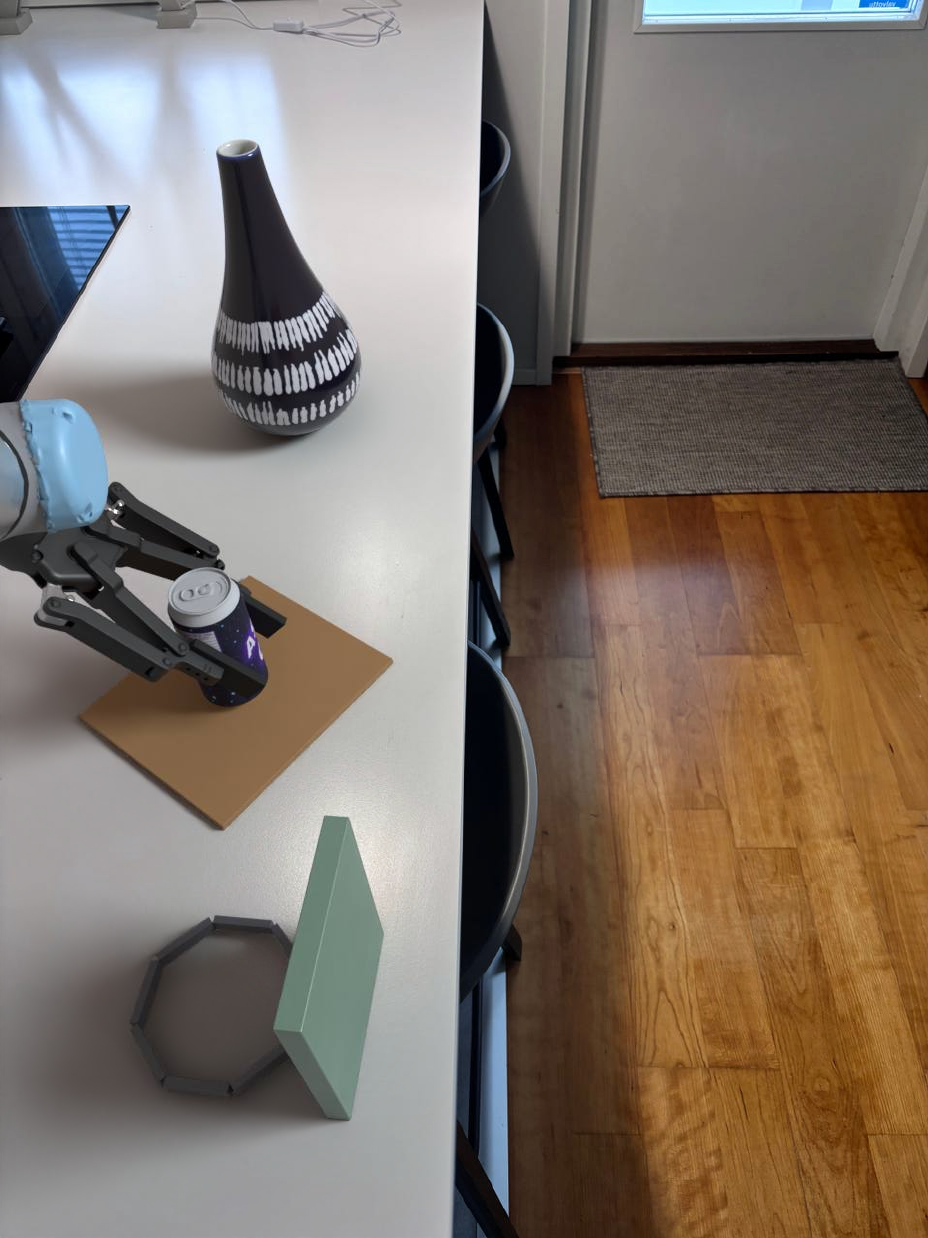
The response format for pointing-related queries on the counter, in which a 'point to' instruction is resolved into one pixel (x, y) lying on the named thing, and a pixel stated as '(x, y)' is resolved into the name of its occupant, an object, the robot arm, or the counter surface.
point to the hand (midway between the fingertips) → (267, 657)
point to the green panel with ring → (302, 980)
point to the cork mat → (240, 712)
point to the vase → (275, 314)
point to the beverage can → (216, 624)
